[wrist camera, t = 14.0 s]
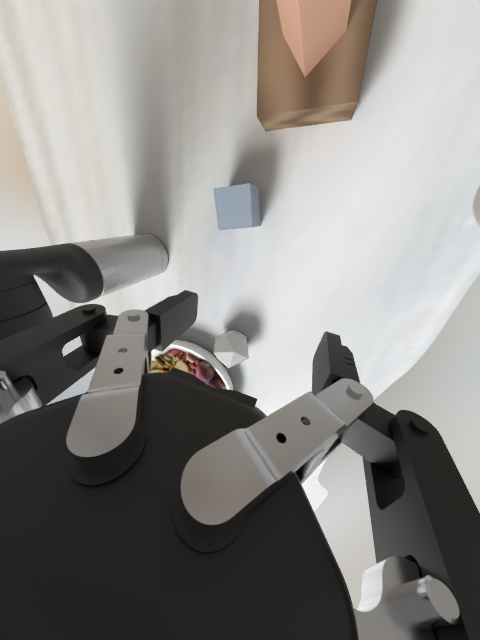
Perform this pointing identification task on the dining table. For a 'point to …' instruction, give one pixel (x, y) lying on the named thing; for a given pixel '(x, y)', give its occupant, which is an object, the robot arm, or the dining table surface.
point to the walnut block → (321, 83)
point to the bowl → (192, 363)
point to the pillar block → (312, 28)
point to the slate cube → (238, 206)
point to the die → (231, 348)
